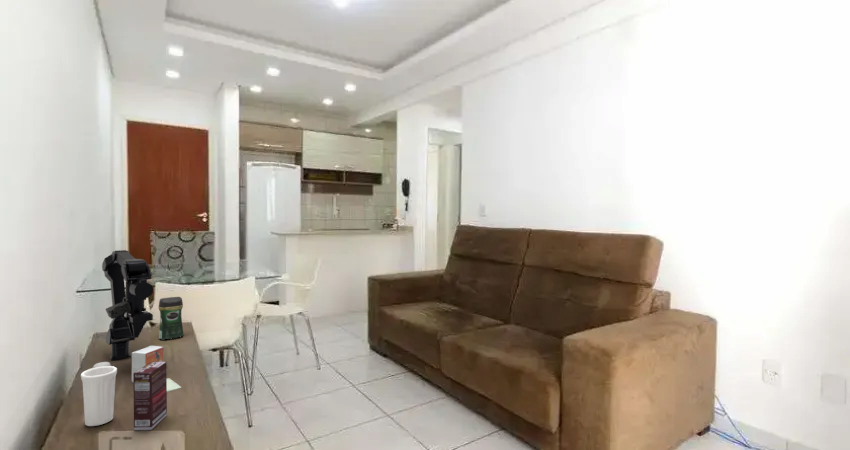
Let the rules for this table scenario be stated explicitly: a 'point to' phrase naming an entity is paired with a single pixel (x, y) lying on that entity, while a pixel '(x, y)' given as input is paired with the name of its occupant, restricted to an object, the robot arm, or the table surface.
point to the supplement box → (150, 395)
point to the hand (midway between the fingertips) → (134, 336)
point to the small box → (146, 357)
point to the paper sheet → (172, 385)
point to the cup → (98, 394)
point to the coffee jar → (170, 318)
